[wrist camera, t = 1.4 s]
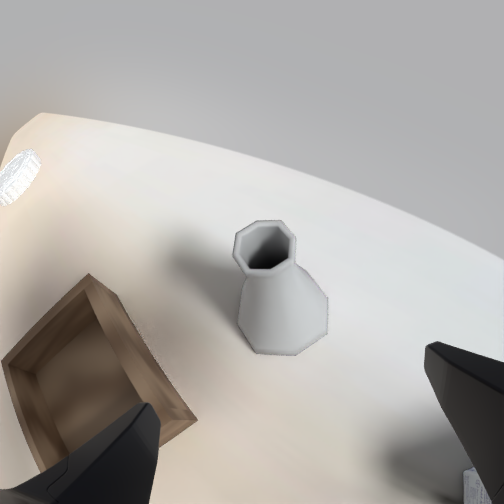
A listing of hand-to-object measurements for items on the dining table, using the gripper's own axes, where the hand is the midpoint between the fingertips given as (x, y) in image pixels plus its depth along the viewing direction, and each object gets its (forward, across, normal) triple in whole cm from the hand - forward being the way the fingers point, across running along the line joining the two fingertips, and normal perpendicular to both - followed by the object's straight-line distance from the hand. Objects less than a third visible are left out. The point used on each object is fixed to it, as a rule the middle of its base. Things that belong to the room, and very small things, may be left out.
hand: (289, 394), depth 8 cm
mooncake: (+38, +43, -19) cm, 61 cm away
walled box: (+11, +17, +8) cm, 22 cm away
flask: (+14, 0, +4) cm, 15 cm away
